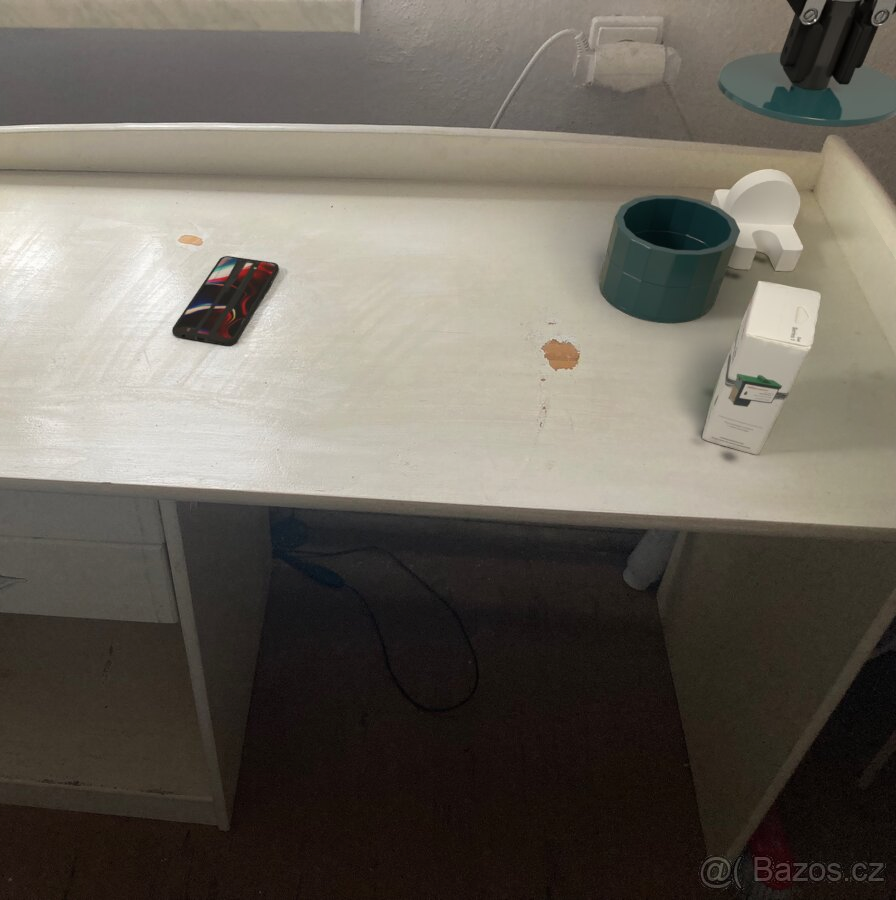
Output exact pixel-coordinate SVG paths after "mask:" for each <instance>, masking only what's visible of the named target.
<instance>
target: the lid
mask: <svg viewBox="0 0 896 900" xmlns="http://www.w3.org/2000/svg"><path fill="white" fill-rule="evenodd" d="M861 1H862V0H826V2H825V5H824V7H823V10H822V12H821V14H822V15H821V18H820V21H819V22H820V24H821V25H822V26H823V31H822V34H821V37H820V39H819V42H818V45H817V47H816V50H815V53H814V55H813V58H812V61H811V63H810V66H809V69H808V71H807V74H806V77H805V79H804V81H801V83H791V81H790V80H789V78H788V76H787V75H786V73H785V72H784V70H783V66H782V65H781V64H780V56H781V52H782V51H779V52H775V51H774V52H763V53H756V54H751V55H744V56H741V57H739V58H736V59H733V60H731V61H729V62H728V63H726V64H725V65H724V66H722V68H721V69H720V71H719V74H718V77H717V80H716V81H717V87H718V89H719V91H720V92H721V93H722V95H724V96H725V98H727V99H728V100H730V101H731V102H732V103H734V104H735V105H738V106H739V107H741V108H744V109H746V110H747V111H750V112H753V113H755V114H758V115H760V116H764V117H768V118H771V119H775V120H779V121H783V122H788V123H793V124H797V125H799V124H800V125H805V126H815V127H827V128H828V127H829V128H830V127H831V128H841V127H843V128H849V127H850V128H851V127H860V126H867V125H873V124H877V123H881V122H884V121H887V120H889V119H892V118H894V117H895V116H896V79H894V78H892V76H889V75H888V74H886V73H885V72H882V71H880V70H878V69H875V68H873V67H871V66H869V65H865V64H863V65H862V66H861V67H860V68H855V71H854V73H853V76H852V78H851V81H850V83H849V84H847V85H846V84H839V83H838V82H836V80H835V79H834V77H833V76H832V75H833V72H834V70H835V67H836V64H837V62H838V59H839V57H840V54H841V52H842V49H843V47H844V44H845V42H846V39H847V37H848V34H849V31H850V29H851V26H852V24H853V21H854V19H855V16H856V14H857V11H858V9H859V6H860V4H861Z"/></svg>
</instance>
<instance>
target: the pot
mask: <svg viewBox="0 0 896 900" xmlns="http://www.w3.org/2000/svg"><path fill="white" fill-rule="evenodd" d="M739 234H740V229H739V227H738V225H737V223H736V221H735V219H734V218H732V217H731V216H730V215H729V214H727V213H726V212H725V211H723V210H722V209H720V208H719V207H716V206H714V205H711V203H709V202H706V201H704V200H701V199H697V198H693V197H687V196H682V195H674V194H673V195H672V194H671V195H670V194H651V195H647V196H640V197H635V198H632V199H631V200H630V201H628V202H625V203H624V204H622V205H620V207H618V210H617V212H616V214H615V215H614V219H613V222H612V228H611V231H610V234H609V240H608V244H607V246H606V251H605V256H604V260H603V264H602V268H601V273H600V276H599V289H600V292H601V294H602V296H603V297H604V298H605V300H606V301H607V302H608V303H609V304H610V305H611V306H613V308H615V309H617V310H619V312H622V313H624V314H626V315H628V316H631V317H634V318H636V319H640V320H644V321H647V322H654V323H663V324H676V323H685V322H691V321H694V320H697V319H700V318H702V317H703V316H705V315H707V314H708V313H709V312H710V311H711V310H712V308H713V307H714V305H715V302H716V299H717V297H718V295H719V291H720V288H721V286H722V283H723V281H724V278H725V275H726V272H727V269H728V268H729V266H728V264H729V261H730V258H731V256H732V253H733V250H734V247H735V245H736V242H737V239H738V236H739Z"/></svg>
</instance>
